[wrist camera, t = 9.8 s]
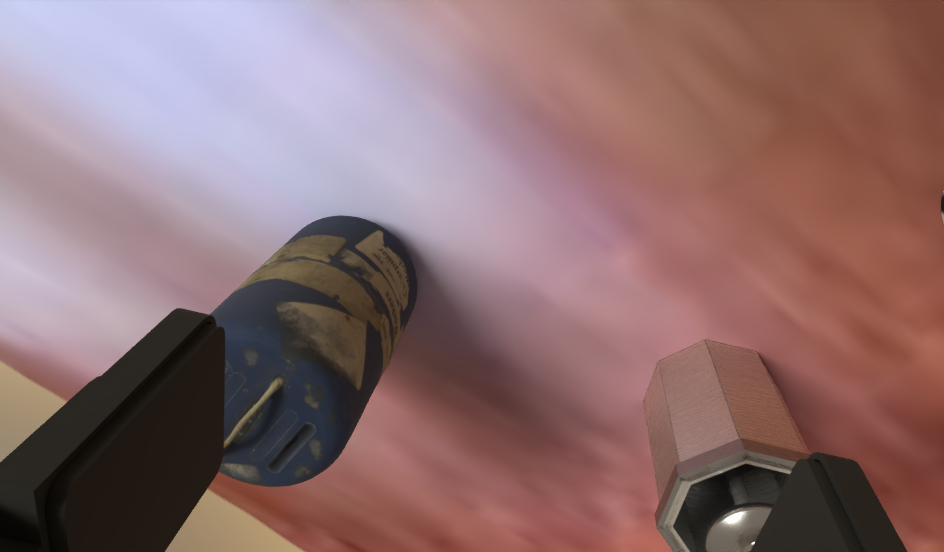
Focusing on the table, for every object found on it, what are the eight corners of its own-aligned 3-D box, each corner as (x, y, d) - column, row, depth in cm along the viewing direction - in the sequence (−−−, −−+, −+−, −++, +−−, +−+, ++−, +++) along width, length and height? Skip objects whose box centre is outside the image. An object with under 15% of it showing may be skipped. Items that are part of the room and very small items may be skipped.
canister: (449, 292, 47) (382, 463, 31) (349, 355, 50) (240, 540, 34) (361, 181, 44) (238, 303, 28) (262, 255, 48) (100, 402, 31)
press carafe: (666, 326, 46) (693, 437, 35) (799, 357, 45) (869, 479, 34) (619, 455, 50) (631, 588, 40) (739, 485, 50) (784, 627, 39)
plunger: (688, 371, 44) (741, 562, 30) (773, 392, 44) (867, 594, 30) (661, 439, 47) (699, 645, 32) (742, 458, 46) (816, 675, 32)
